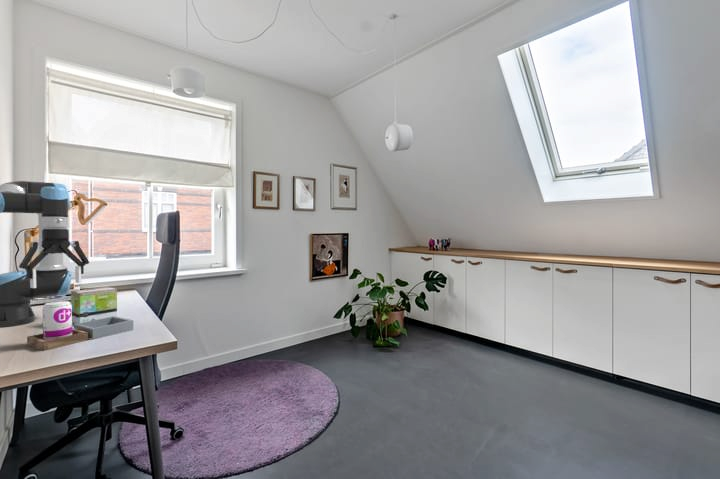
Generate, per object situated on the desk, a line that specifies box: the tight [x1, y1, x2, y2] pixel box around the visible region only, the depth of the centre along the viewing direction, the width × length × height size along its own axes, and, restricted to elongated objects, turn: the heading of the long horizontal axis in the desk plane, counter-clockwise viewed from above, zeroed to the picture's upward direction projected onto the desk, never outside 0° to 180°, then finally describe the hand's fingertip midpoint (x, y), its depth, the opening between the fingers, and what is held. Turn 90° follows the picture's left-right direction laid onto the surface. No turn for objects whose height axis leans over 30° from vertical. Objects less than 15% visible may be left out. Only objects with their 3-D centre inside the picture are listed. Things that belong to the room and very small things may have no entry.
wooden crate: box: [26, 327, 89, 351], centre depth 131 cm, size 13×13×3 cm
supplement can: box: [42, 300, 73, 341], centre depth 131 cm, size 8×8×15 cm
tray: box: [73, 316, 134, 340], centre depth 145 cm, size 15×15×4 cm
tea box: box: [70, 286, 118, 325], centre depth 163 cm, size 15×10×15 cm, turn 148°
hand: (56, 285), depth 130 cm, fingers open, 13 cm apart
